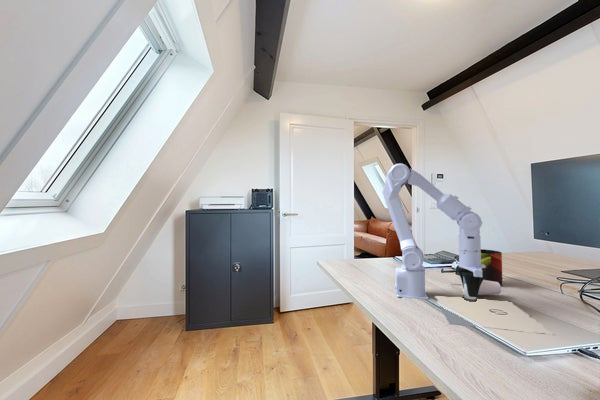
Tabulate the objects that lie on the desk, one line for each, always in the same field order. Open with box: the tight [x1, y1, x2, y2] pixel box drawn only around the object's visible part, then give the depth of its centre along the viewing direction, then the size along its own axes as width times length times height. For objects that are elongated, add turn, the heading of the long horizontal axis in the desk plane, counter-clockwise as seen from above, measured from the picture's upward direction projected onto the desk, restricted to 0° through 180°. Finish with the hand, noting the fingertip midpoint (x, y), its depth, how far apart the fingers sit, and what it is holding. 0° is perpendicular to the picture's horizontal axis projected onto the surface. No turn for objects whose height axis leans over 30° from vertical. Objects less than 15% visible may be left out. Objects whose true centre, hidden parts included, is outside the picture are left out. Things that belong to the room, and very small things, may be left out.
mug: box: [481, 248, 503, 287], centre depth 102 cm, size 10×14×12 cm
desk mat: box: [438, 299, 514, 328], centre depth 75 cm, size 22×22×1 cm
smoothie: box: [450, 280, 502, 296], centre depth 87 cm, size 6×6×14 cm
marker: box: [463, 277, 478, 302], centre depth 82 cm, size 3×3×8 cm
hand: (470, 294), depth 82 cm, fingers open, 4 cm apart
